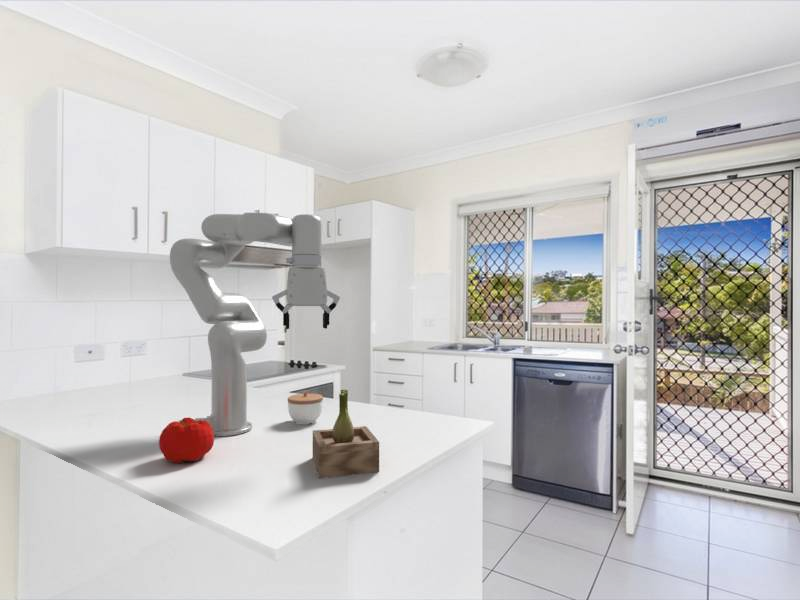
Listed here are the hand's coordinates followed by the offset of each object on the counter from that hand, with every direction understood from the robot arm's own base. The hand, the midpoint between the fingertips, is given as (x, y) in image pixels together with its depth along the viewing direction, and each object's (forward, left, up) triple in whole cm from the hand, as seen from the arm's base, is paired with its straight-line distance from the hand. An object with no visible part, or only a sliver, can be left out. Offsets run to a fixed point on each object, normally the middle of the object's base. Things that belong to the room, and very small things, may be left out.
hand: (306, 328), depth 116 cm
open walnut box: (+7, -17, -30) cm, 35 cm away
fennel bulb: (+7, -17, -26) cm, 31 cm away
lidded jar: (+2, +23, -31) cm, 38 cm away
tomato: (-28, -2, -31) cm, 42 cm away
